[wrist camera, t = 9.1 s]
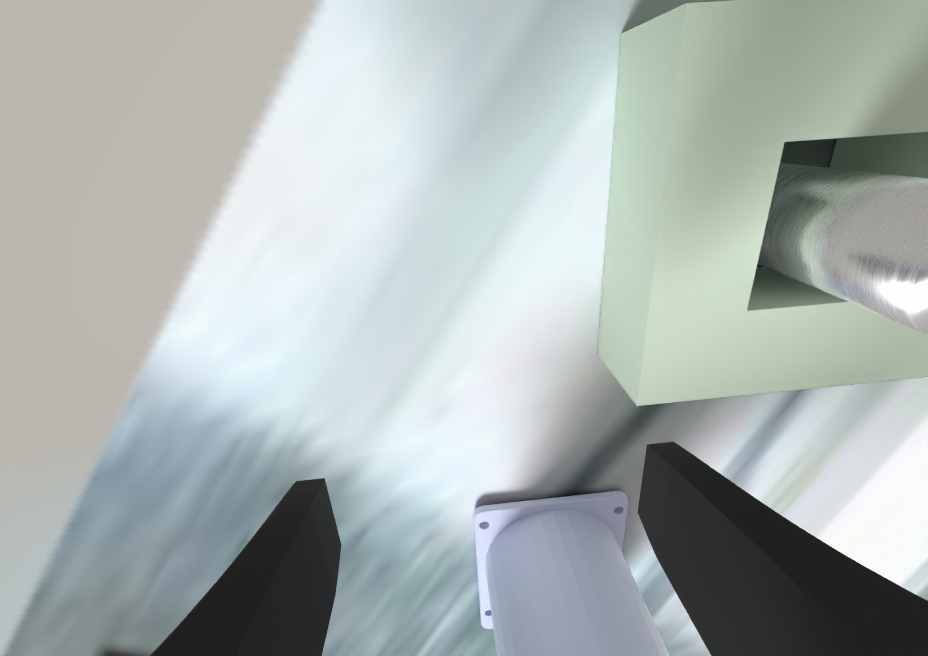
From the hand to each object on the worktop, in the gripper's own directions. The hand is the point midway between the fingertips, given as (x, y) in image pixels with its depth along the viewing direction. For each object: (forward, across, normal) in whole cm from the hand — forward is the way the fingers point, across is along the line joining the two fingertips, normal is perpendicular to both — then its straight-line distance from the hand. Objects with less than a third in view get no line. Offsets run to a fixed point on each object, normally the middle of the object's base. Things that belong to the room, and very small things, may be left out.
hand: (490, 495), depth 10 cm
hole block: (+9, -12, -4) cm, 16 cm away
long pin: (+9, -12, -4) cm, 16 cm away
